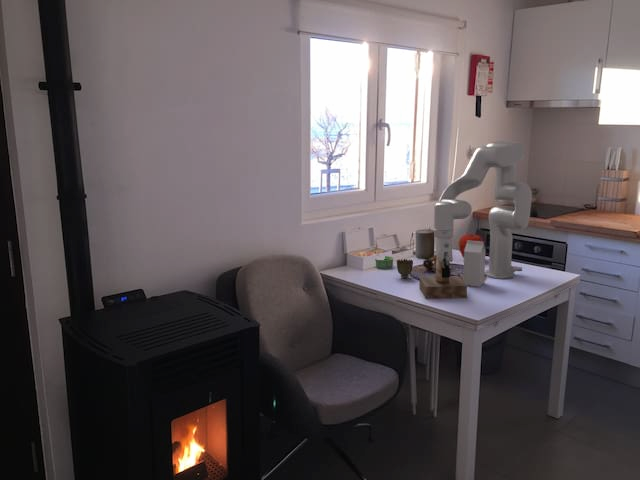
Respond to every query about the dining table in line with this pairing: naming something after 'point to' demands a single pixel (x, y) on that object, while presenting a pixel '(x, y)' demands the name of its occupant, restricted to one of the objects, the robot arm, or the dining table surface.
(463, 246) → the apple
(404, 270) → the dark rounded textured piece
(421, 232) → the pillar candle
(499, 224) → the robot arm
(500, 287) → the dining table surface
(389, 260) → the ramekin
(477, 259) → the milk carton
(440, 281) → the oak peg
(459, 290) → the walnut block
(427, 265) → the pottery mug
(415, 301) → the dining table surface
